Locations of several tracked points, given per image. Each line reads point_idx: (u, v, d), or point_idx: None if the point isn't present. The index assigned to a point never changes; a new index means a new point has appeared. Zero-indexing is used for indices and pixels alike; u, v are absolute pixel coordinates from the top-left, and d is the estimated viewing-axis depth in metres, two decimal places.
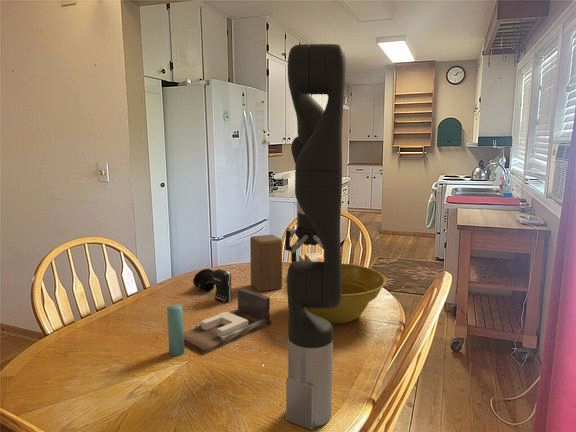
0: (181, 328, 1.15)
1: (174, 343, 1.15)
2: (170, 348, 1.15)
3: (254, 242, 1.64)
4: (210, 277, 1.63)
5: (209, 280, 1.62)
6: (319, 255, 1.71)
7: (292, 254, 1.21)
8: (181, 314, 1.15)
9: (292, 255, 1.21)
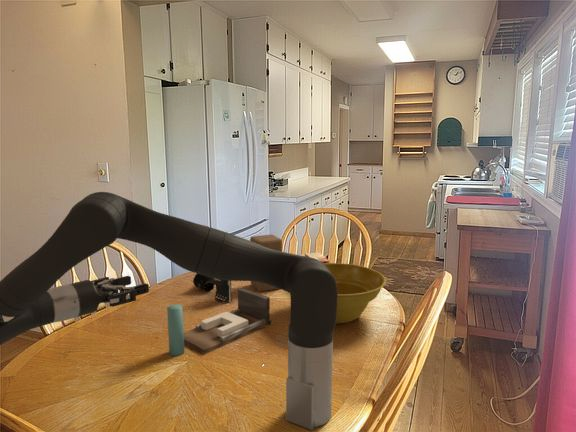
0: (181, 328, 1.15)
1: (174, 343, 1.15)
2: (170, 348, 1.15)
3: (254, 242, 1.64)
4: (210, 277, 1.63)
5: (209, 280, 1.62)
6: (320, 255, 1.71)
7: (137, 288, 1.01)
8: (181, 314, 1.15)
9: (138, 288, 1.01)
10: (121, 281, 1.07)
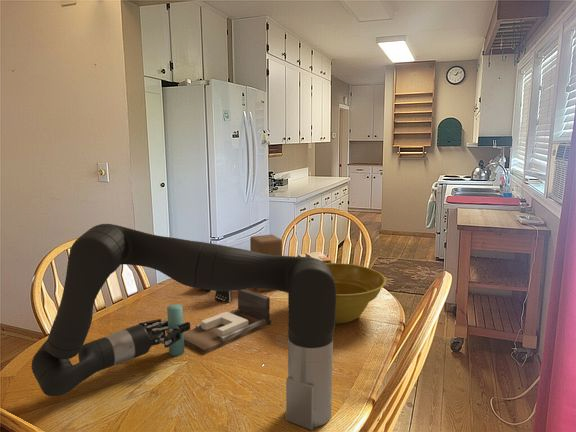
0: None
1: (174, 343, 1.15)
2: (170, 348, 1.15)
3: (254, 242, 1.64)
4: None
5: None
6: (321, 254, 1.72)
7: (181, 327, 1.14)
8: (181, 314, 1.15)
9: (182, 327, 1.14)
10: None
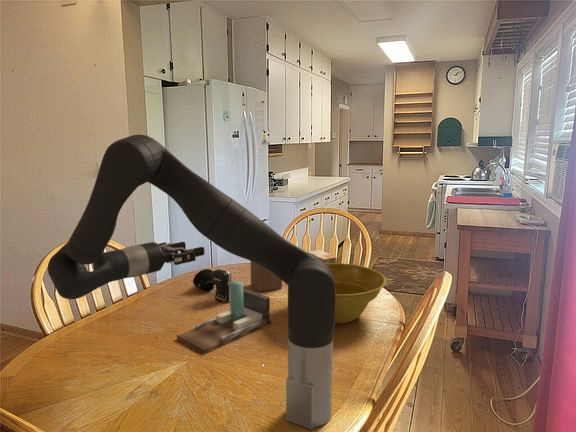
0: (242, 301, 1.31)
1: (236, 314, 1.31)
2: (232, 319, 1.31)
3: None
4: (210, 277, 1.63)
5: (209, 280, 1.62)
6: (322, 252, 1.75)
7: (195, 250, 1.12)
8: (242, 289, 1.31)
9: (196, 250, 1.12)
10: (177, 246, 1.18)
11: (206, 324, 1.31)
